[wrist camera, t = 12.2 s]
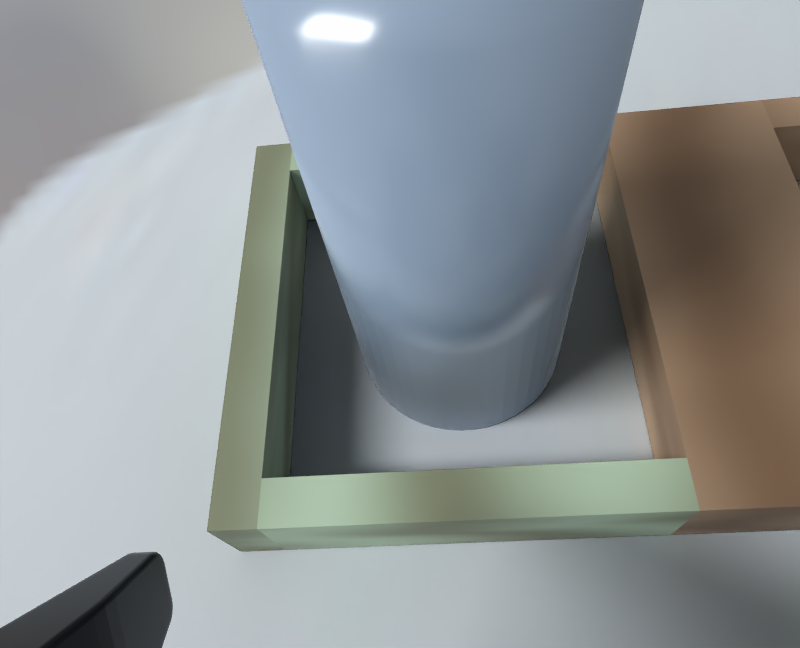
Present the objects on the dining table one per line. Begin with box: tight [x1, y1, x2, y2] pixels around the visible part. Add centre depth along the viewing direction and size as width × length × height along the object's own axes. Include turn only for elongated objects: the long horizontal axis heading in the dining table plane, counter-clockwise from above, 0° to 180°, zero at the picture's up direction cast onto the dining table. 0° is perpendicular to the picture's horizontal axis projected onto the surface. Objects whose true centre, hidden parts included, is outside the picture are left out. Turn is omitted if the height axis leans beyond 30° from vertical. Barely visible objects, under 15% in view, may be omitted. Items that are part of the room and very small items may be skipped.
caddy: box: [207, 97, 800, 551], centre depth 18 cm, size 27×12×2 cm, turn 91°
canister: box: [242, 0, 644, 430], centre depth 14 cm, size 6×6×12 cm
